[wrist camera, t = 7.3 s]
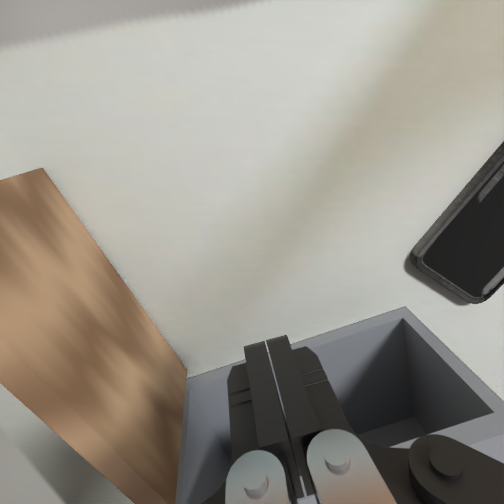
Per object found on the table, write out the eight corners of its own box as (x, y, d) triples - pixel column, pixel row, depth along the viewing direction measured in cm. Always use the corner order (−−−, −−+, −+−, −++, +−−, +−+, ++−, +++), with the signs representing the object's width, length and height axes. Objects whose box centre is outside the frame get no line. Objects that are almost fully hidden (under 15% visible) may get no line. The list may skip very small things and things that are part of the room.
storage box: (416, 409, 29) (514, 546, 19) (231, 470, 29) (241, 634, 20) (405, 306, 24) (528, 425, 14) (180, 381, 24) (163, 545, 15)
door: (187, 369, 23) (174, 510, 15) (160, 381, 23) (133, 526, 15) (42, 167, 16) (-125, 217, 8) (5, 184, 16) (-195, 252, 8)
